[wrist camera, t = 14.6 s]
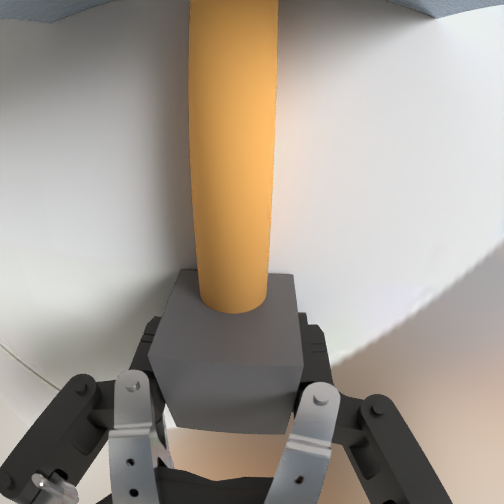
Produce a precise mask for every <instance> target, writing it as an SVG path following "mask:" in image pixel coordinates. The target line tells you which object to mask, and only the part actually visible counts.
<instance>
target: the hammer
mask: <svg viewBox="0 0 504 504" xmlns="http://www.w3.org/2000/svg"><path fill="white" fill-rule="evenodd" d="M277 49H278V0H191V2H190V24H189V66H188V99H189V144H190V168H191V188H192V204H193V219H194V232H195V244H196V256H197V267H198V271H191V270H181V271H180V273H179V276H178V278H177V281H176V283H175V286H174V288H173V290H172V293H171V295H170V298H169V300H168V303H167V305H166V308H165V310H164V313H163V315H162V318H161V321H160V323H159V326H158V328H157V331H156V334H155V336H154V339H153V342H152V344H151V347H150V350H149V352H148V355H147V356H148V358H149V361H150V364H151V366H152V369H153V372H154V374H155V377H156V379H157V382H158V384H159V387H160V389H161V392H162V394H163V397H164V399H165V401H166V404H167V406H168V408H169V411H170V413H171V415H172V417H173V420H174V422H175V424H176V426H177V427H182V428H189V429H198V430H207V431H216V432H227V433H243V434H285V432H286V429H287V426H288V422H289V419H290V415H291V412H292V408H293V405H294V401H295V398H296V394H297V390H298V387H299V383H300V379H301V375H302V371H303V367H304V362H303V353H302V344H301V335H300V326H299V318H298V309H297V301H296V294H295V286H294V278H293V275H290V274H268V262H269V244H270V226H271V207H272V187H273V165H274V141H275V115H276V86H277Z"/></svg>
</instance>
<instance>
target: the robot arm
mask: <svg viewBox="0 0 504 504" xmlns="http://www.w3.org/2000/svg"><path fill="white" fill-rule="evenodd" d="M161 318H162V317H157V316H155V317H154V318H153V319H152V320H151V321H150V322H149V323H148V324H147V326H146V328H145V331H144V335H143V336H142V338H141V342H140V343H139V345H138V348H137V350H136V353H135V355H134V358H133V361H132V363H131V366H130V368H129V370H128V371H125V372H123V373H121V374H120V375H119V376H118V377H117V379H116V380H112V381H103V382H96V381H95V380H94V378H93V377H91V376H90V375H87V374H78V375H76V376H74V377H72V378H71V379H70V380H69V381H68V382H67V384H66V385H65V386H64V387H63V388H62V390H61V391H60V392H59V393H58V394H57V396H56V397H55V398H54V399H53V400H52V402H51V403H50V404H49V405H48V406H47V408H46V409H45V410H44V411H43V413H42V414H41V415H40V416H39V418H38V419H37V420H36V421H35V423H34V424H33V425H32V426H31V428H30V429H29V430H28V431H27V433H26V434H25V435H24V437H23V438H22V439H21V440H20V442H19V443H18V444H17V446H16V447H15V448H14V450H13V451H12V452H11V454H10V455H9V456H8V458H7V459H6V460H5V462H4V463H3V464H2V466H1V467H0V493H1V494H2V495H3V496H5V497H6V498H8V499H10V500H12V501H14V502H16V503H17V504H77V503H78V502H79V498H78V492H77V490H76V488H75V487H76V486H77V484H78V483H79V481H80V480H81V478H82V477H83V475H84V474H85V472H86V471H87V470H88V468H89V467H90V465H91V464H92V462H93V461H94V459H95V458H96V456H97V455H98V454H99V452H100V451H101V449H102V448H103V446H104V445H105V443H106V442H107V440H108V439H109V465H110V480H111V490H112V493H111V494H110V495H108V496H107V497H105V498H104V499H103V500H101V501H99V502H98V503H96V504H317V502H318V499H319V496H320V493H321V489H322V486H323V482H324V479H325V475H326V471H327V468H328V464H329V460H330V456H331V448H330V446H331V443H336V444H341V445H343V447H344V450H345V452H346V454H347V456H348V458H349V460H350V462H351V464H352V466H353V468H354V470H355V472H356V474H357V476H358V479H359V481H360V483H361V485H362V487H363V489H364V491H365V493H366V495H367V497H368V499H369V501H370V503H371V504H453V503H452V501H451V499H450V498H449V496H448V494H447V492H446V490H445V489H444V487H443V485H442V483H441V482H440V480H439V478H438V476H437V475H436V473H435V471H434V469H433V468H432V466H431V464H430V463H429V461H428V459H427V457H426V456H425V454H424V452H423V451H422V449H421V447H420V446H419V444H418V442H417V441H416V439H415V437H414V436H413V434H412V432H411V431H410V429H409V427H408V426H407V424H406V422H405V421H404V419H403V417H402V416H401V414H400V413H399V411H398V409H397V408H396V406H395V405H394V403H393V402H392V400H390V399H389V398H388V397H386V396H384V395H380V394H374V395H370V396H368V397H367V398H366V399H365V400H361V399H357V398H352V397H348V396H345V395H343V394H341V393H340V392H339V391H338V390H337V389H336V387H335V386H334V384H333V380H332V375H331V369H330V363H329V358H328V353H327V347H326V342H325V336H324V333H323V331H322V330H321V329H320V327H319V326H318V325H308V322H307V316H306V313H303V312H298V318H299V326H300V335H301V344H302V353H303V362H304V367H303V371H302V375H301V379H300V383H299V387H298V390H297V394H296V398H295V401H294V405H293V408H292V412H294V423H293V426H292V429H291V432H290V435H289V438H288V441H287V444H286V447H285V450H284V452H283V455H282V458H281V461H280V463H279V466H278V469H277V471H276V474H275V477H271V478H267V477H242V478H235V479H228V480H221V481H212V480H209V479H206V478H203V477H200V476H198V475H195V474H192V473H190V472H187V471H183V470H177V469H174V464H173V461H172V458H171V455H170V452H169V446H168V439H167V431H166V424H165V416H164V412H163V411H164V407H165V403H166V401H165V399H164V397H163V394H162V392H161V389H160V387H159V384H158V382H157V379H156V377H155V374H154V372H153V369H152V366H151V364H150V361H149V358H148V356H147V355H148V352H149V350H150V347H151V344H152V342H153V339H154V336H155V334H156V331H157V328H158V326H159V323H160V321H161Z"/></svg>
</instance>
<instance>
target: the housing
mask: <svg viewBox="0 0 504 504" xmlns="http://www.w3.org/2000/svg"><path fill="white" fill-rule="evenodd" d="M109 1H113V0H0V19H15V20H26V21H36V22H43V23H52V22H55V21H57V20H59V19H62V18H64V17H67V16H69V15H72V14H74V13H77V12H79V11H82V10H85V9H88V8H90V7H93V6H96V5H99V4H103V3H106V2H109ZM386 1H389V2H392V3H396V4H399V5H402V6H405V7H408V8H411V9H414V10H416V11H419V12H422V13H424V14H427V15H429V16H432V17H434V18H437V19H438V18H441V17H445V16H449V15H453V14H457V13H461V12H465V11H470V10H474V9H479V8H485V7H490V6H496V5H503V4H504V0H386Z"/></svg>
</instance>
